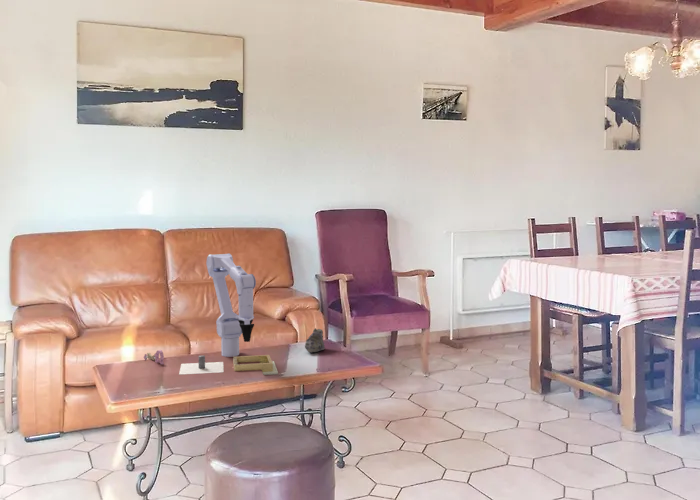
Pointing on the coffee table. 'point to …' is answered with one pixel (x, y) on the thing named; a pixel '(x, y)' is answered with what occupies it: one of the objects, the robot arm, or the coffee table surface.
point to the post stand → (201, 367)
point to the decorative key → (155, 356)
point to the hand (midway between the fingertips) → (246, 339)
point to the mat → (271, 371)
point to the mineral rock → (315, 341)
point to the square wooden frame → (264, 364)
